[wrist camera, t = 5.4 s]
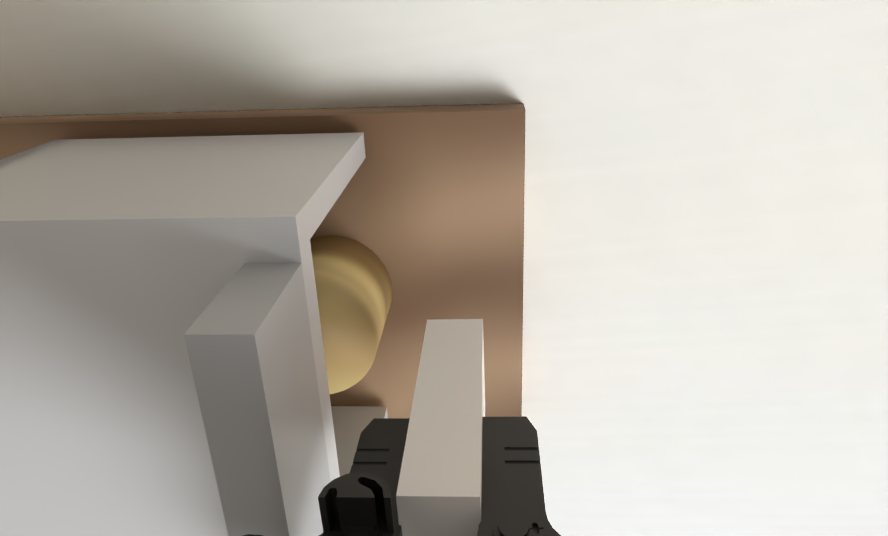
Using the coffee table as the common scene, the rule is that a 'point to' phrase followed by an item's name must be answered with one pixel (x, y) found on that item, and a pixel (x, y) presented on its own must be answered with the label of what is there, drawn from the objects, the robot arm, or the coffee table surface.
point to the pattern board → (386, 233)
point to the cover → (168, 336)
